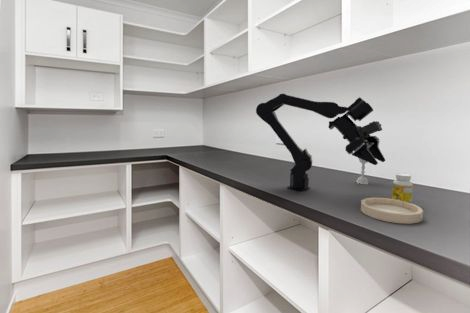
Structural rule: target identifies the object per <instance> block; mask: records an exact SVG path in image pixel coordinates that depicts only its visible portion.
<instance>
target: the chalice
mask: <svg viewBox="0 0 470 313" xmlns="http://www.w3.org/2000/svg"><path fill="white" fill-rule="evenodd" d="M357 158H358V157H357ZM358 161H359V163H360V164H361V167H360V169H361V171H360V173H361V175H360V176H359V177H358V178H357V179H356V181H355V183H356V182H357V183H356V184H359V183H360V184H361V185H369V184H368V183H369V181H368V179H367V177H365V173H366V172H365V169H366V166H365V164H367V163H368V162H367V161H365V160H363V159H360V158H358Z"/></svg>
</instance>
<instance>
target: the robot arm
mask: <svg viewBox="0 0 470 313" xmlns="http://www.w3.org/2000/svg"><path fill="white" fill-rule="evenodd" d="M285 105H286V106H290V107H293V108H298V109H303V110H306V111H311V112H313V113H316V114H317V115H320V116H321V117H324V118H327V119H333V120H332V121H330V120H329V121H328V129H329V130H331V131H332V130H333V129H334V128H335V129H336V130H337V131H338V132H339V133H340V134H341V136H342V138H343V140H346V141H348V144H346V146H345V151H346V153H347V154H348V155H351V156H354V157H356V158H360V159H363V160H365V161H367V163H369V164H372V165H373V166H376V165H378V164H379V163H378V161H380V162H382V163H384V162H385V161H386V159H385V157H384V155H383V153H382V151H381V149H380V147H379V144H380V138H379V137H377V136H376V135H371V134H374V133H377V132H381V131H383V127H382V124H381V123H380V122H379V121H373V120H372V122H369V123H368V124H366V125H364V126H361V125H357V124H356V123H355V122H356V121H358V122H361V121H362V120H363V119H365V118H366V117H367V116H369V115H370V114H371V113H372V112H374V109H373V107H372V106H371V105H370V104H369V103H368V102H367V101H365V100H364V99H362V97H358V98H356V99H355V101H354V102H353V103H351V104H350V105H349V106H347V107H346V106H342V105H341V106H340V105H339V104H338V103H336V102H334V101H314V100H309V99H305V98H301V97H297V96H293V95H288V94H286V93H280V94H278V95H277V96H275V97H274V98H271V99H270V100H267V101H266V102H260V103H259V104H258V105H257V107H256V109H255V113H256V115H257V116H258V117H259V118H260V119H261V120H262V121H264V122H265V124H268V126H269V127H270V128H271V130H273V132H274V133H275V134H276V136H277V137H278V139H279V140H280V141H281V142H282V144H283V145H284V147H285V148H286V149H287V150H288V152H289V153H290V154H291V157H292V159H293V162H294V165H293V166H292V167H291V169H290V173H289V174H290V175H289V186H288V185H287V189H290V190H295V191H300V192H301V191H305V190H309V189H310V186H309V182H310V181H309V179H310V178H309V174H308V173H306V172H307V171H310V170H311V169H312V166H313V158H312V157H313V156H312V155H311V154H310V153H309V151H308V150H307V148H304V149H302V148H301V147H300V146H299V145H298V144H297V143H296V141H295V140H294V138H293V137H292V136H291V135H290V134H289V132H288V131H287V130H286V128H285V127H284V126H283V125H282V123H281V122H280V121H279V118H278V117H277V114H276V112H275V111H277V110H279V109H280V108H281V107H283V106H285ZM338 115H342V116H338ZM337 116H338V117H337ZM334 118H335V119H334Z"/></svg>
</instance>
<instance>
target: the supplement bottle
mask: <svg viewBox="0 0 470 313" xmlns="http://www.w3.org/2000/svg"><path fill="white" fill-rule="evenodd" d="M411 177H412V175H411V174H406V173H396V174H395V180H393V181H392V192H391V193H392V194H391V199H395V200H400V201H405V202H408V203H411V204H412V200H413V189H414V188H413V187H414V184H413V182H412V181H411V179H412V178H411Z"/></svg>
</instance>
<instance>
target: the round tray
mask: <svg viewBox="0 0 470 313" xmlns="http://www.w3.org/2000/svg"><path fill="white" fill-rule="evenodd" d="M360 202H361V203H360V212H362V213H363V214H364V215H365V216H368V217H370V218H372V219H376V220H379V221H383V222H389V223H394V224H411V225H412V224H417V223H420V222H422V221H423V216H424V210H423V209H422V207H420V206H419V205H417V204H414V203H412V202H411V203H408V202H405V201H400V200H395V199H392V198H386V197H368V198H367V197H365V198H364V199H361V200H360Z"/></svg>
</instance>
